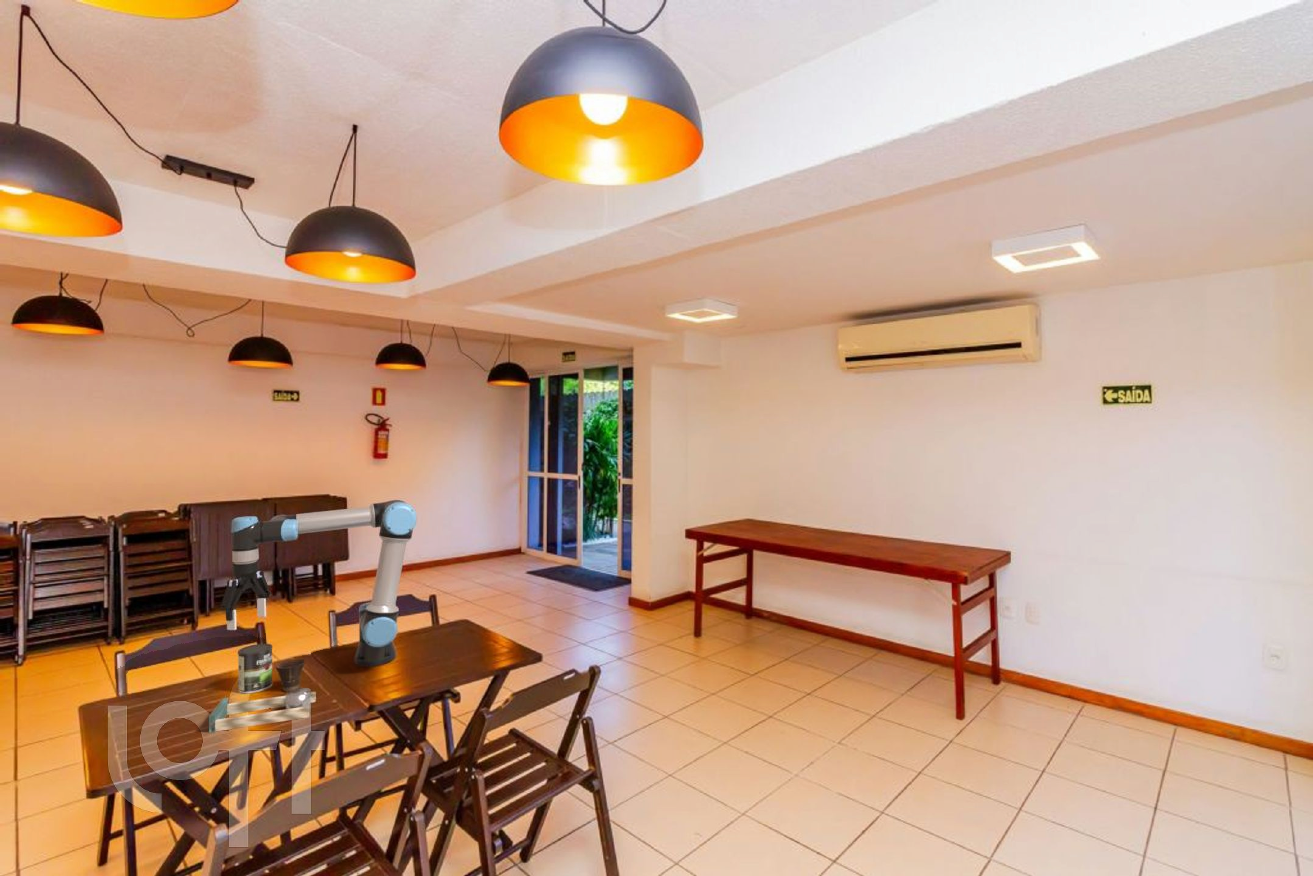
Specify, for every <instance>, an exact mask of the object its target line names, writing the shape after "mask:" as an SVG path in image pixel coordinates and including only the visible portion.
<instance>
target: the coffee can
mask: <svg viewBox="0 0 1313 876" xmlns="http://www.w3.org/2000/svg"><path fill="white" fill-rule="evenodd" d="M237 654H238V655H237V659H238V661H237V663H238V667H237V669H238V693H240V694H243V695H245V694H247V695H248V694H255V693H260V692H262V691H265V690H268V689H270V688H271V687H272V686H273V684H274V683H273V645H272V644H270V643H257V644H251V645H248V646H247V645H246V646H244V647H242V648H240V649H238V651H237Z"/></svg>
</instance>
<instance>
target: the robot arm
mask: <svg viewBox="0 0 1313 876" xmlns="http://www.w3.org/2000/svg"><path fill="white" fill-rule="evenodd" d="M417 519H418V516H417V512H416V510H415V509H414V507H412V506H411V505H410V504H408V502H407V503H406V501H403V500H400V499H393V500H389V501H382V502H377V503H371V504H370V505H369V506H364V507H363V506H362V507H354V508H353V507H352V508H345V509H344V508H343V509H342V508H341V509H334V510H326V511H325V510H324V511H313V512H304V513H297V514H289V515H288V514H287V515H286V514H279V515H276V516H273V517H272V518H271V519H270V520H267V521H266V520H265V521H259V519H258V517H257V516H254V515H252V516H247V515H246V516H239V517H235V518H234V519H232V520H231V531H230V533H231V534H230V535H231V552H232V553H231V554H232V558H231V559H232V560H231V561H232V566H231V567H232V569H231V570H232V575H234V579H233V580H231V579H228V580H227V581H226V582H227V583H226V589H225V591H224V595H223V598H222V600H221V601H222V602H221V605H220V607H219V611H220V612H221V611H222V612H225V620H226V630H227V631H236V630H237V610H236V609H235V608H236V607H237V604H238V602H239V600H240V598H241V596H242V594H243V593H245V591H246V590H248V589H251V590H252V591H253V592H254V593H255V594H256V596H257V598H256V610H257V611H256V612H257V614H256V615H257V618H266V617H267V599H269V598H270V595H271V594H272V591H271V589H270V587H269V584H268V582H267V579H266V578H265V571H263V570H260V565H259V564H260V563H259V562H260V561H259V558H260V554H259V544H266V543H277V542H280V543H281V542H289V541H295V540H297V539H298V537H299V535H301V534H307V533H308V534H309V533H317V532H326V531H327V532H328V531H335V530H343V529H344V530H345V529H352V528H361V527H372V528H375V529H376V528H379V534H378V537H379V538H380V539H381V547H380V552H379V558H378V564H377V567H376V568H377V569H376V574H375V580H374V585H373V592H372V597H371V601H369V602H365V603H362V604H361V605H359V609H358V620H359V621H358V624H359V626H358V627H359V628H358V629H359V633H358V637H359V641H358V646H357V648H356V652H355V655H354V665H356V666H359V667H363V668H364V667H376V666H381V665H385V664H389V663H391V662H393V661H395V659H397V649H396V646H395V644H394V642H393V641H394V640H395V638H396V636H397V634H398V624H397V622H398V617H399V610H400V609H399V607H398V606H397V605H396V604H397V603H396V602H397V598H398V592H399V587H400V586H399V585H400V582H401V581H400V580H401V574H402V569H403V563H404V558H405V552H406V546H407V543H408V542H409V541H410V540H412V538H413V537H412V536H413V531H414V529H415V526H416V524H417V521H418V520H417Z"/></svg>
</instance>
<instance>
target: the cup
mask: <svg viewBox="0 0 1313 876" xmlns="http://www.w3.org/2000/svg"><path fill="white" fill-rule="evenodd" d="M305 662H306V660H305V659H304V658H292V659H291V658H290V659H286V660H282V661H279V662H278V663H277V664H275V666H274V667H275V670H276V671H277V673H278V676H279V678H280V682H281V685H282V691H283V692H285V693H288V692H290V691H292V690H295V689H299V688H300V679H301V674H302V671H303V668H304V666H305Z"/></svg>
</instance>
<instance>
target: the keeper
mask: <svg viewBox="0 0 1313 876" xmlns="http://www.w3.org/2000/svg"><path fill="white" fill-rule="evenodd" d="M311 692H312V691H311V689H310V688H308V687H299V688H298V689H295V690H292V691H290V692H286V694H285V696H286V706H285V709H292V708H299V707H306V706H309V711H310V710H311V708H312V707H311V706H312V705H311Z"/></svg>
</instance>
